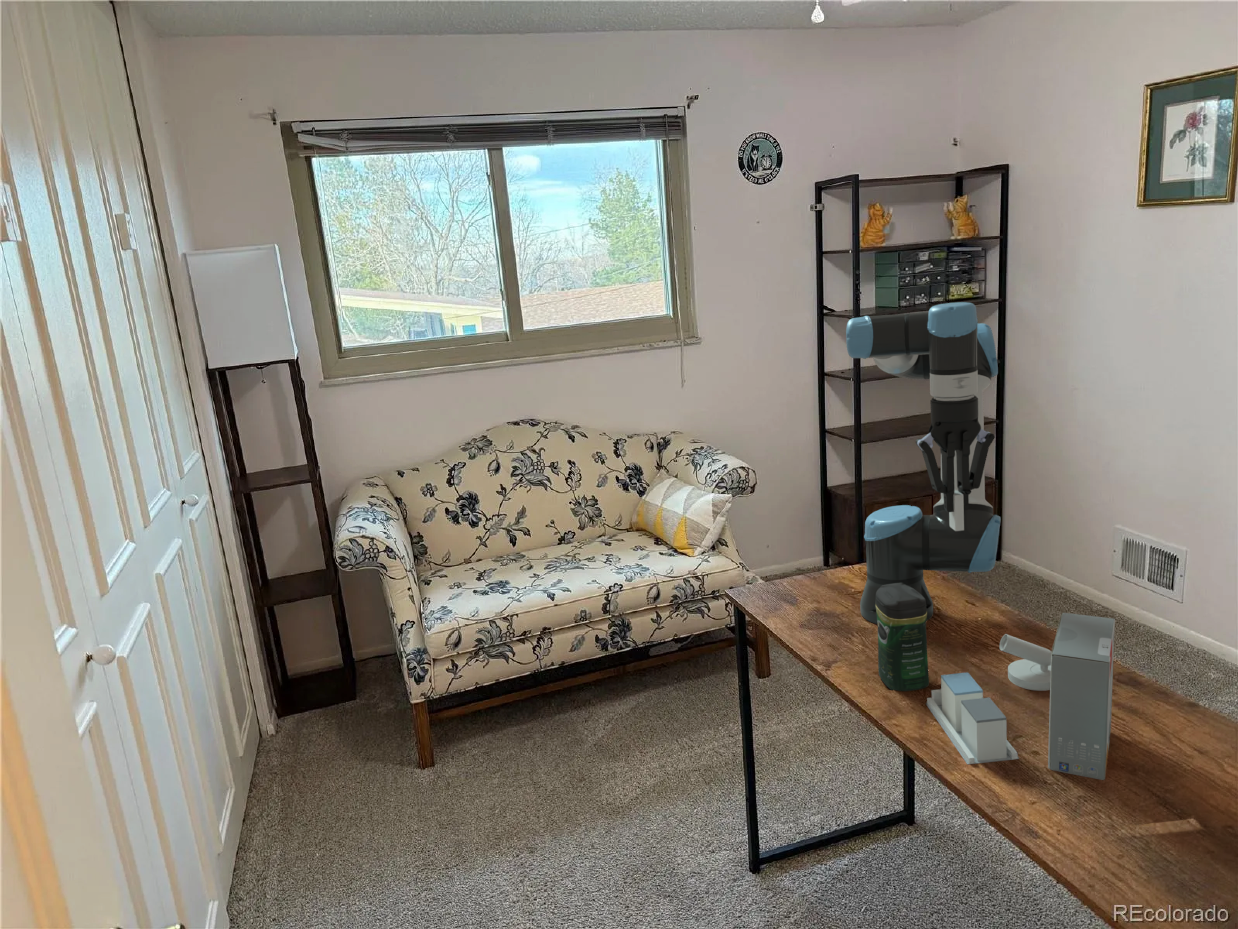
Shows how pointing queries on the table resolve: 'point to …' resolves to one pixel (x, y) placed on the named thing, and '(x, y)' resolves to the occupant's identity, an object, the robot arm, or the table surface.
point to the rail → (960, 732)
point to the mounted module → (984, 729)
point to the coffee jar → (902, 637)
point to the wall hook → (1028, 664)
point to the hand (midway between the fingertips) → (956, 528)
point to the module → (957, 696)
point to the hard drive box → (1081, 695)
